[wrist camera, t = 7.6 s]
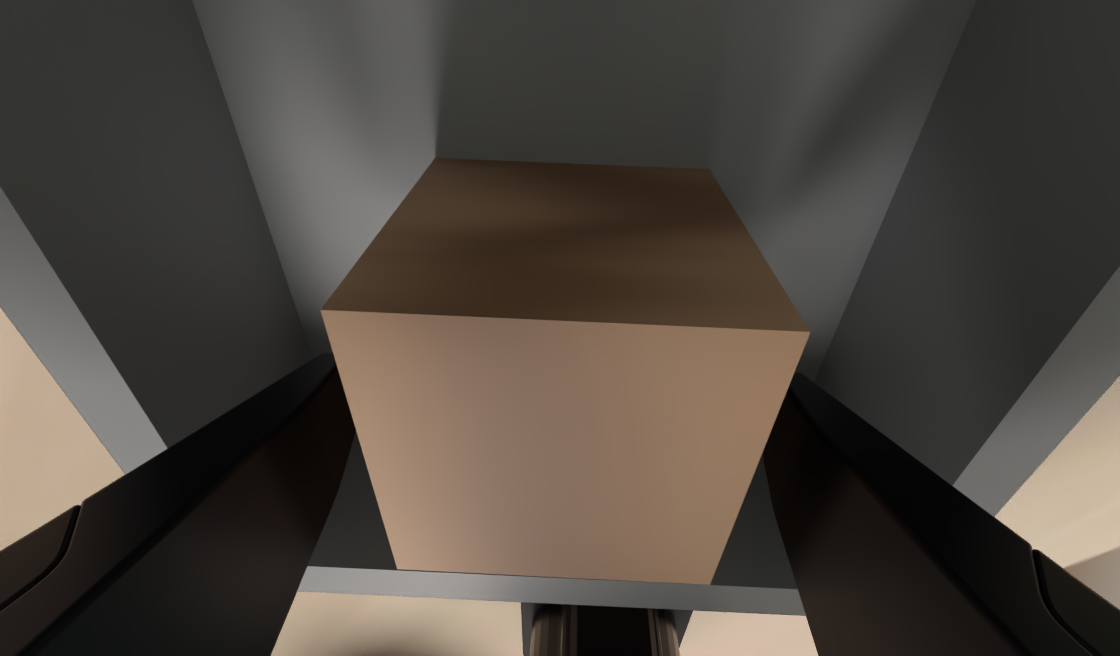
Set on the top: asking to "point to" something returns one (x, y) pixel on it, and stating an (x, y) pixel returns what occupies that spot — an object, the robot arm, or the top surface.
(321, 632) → the top surface
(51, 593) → the robot arm
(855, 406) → the grey rectangular tray
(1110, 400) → the top surface
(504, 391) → the tan wooden cube
